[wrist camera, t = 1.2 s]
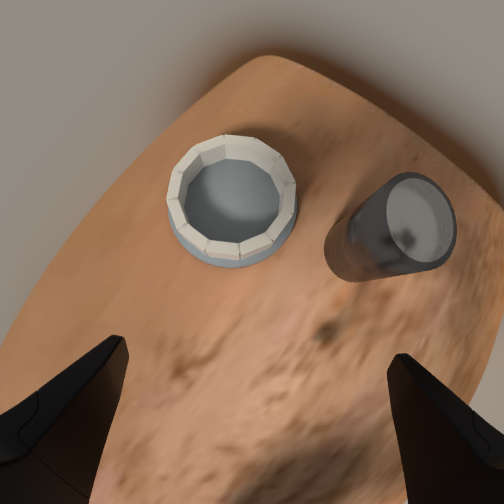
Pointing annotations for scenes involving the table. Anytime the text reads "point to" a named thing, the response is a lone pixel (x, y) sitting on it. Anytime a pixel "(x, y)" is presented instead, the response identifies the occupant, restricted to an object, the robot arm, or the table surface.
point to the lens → (393, 232)
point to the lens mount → (232, 201)
